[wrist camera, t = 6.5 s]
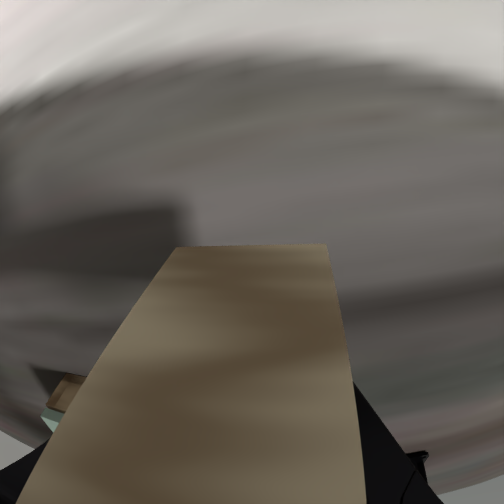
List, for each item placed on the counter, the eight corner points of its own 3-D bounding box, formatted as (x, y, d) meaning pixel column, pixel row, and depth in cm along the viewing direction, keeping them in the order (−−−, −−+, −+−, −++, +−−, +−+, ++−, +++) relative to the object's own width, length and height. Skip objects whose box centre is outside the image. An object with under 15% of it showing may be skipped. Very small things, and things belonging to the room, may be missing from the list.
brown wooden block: (325, 243, 9) (367, 621, 1) (319, 366, 11) (319, 612, 3) (176, 247, 10) (1, 533, 2) (201, 364, 12) (132, 587, 4)
